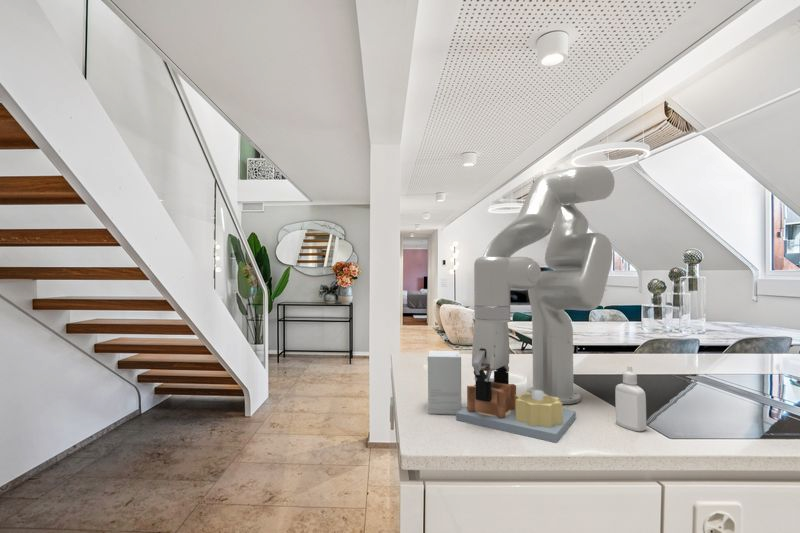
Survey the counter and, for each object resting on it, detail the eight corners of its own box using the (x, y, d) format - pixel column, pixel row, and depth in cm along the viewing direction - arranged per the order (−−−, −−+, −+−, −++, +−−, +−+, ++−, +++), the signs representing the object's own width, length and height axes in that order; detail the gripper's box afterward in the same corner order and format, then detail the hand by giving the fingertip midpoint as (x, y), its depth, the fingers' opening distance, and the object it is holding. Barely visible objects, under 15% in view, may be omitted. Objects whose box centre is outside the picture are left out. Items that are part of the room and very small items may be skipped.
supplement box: (460, 405, 93) (460, 350, 94) (461, 415, 86) (461, 356, 86) (428, 403, 94) (428, 349, 95) (427, 414, 87) (427, 355, 87)
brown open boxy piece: (517, 408, 86) (517, 384, 86) (503, 418, 79) (503, 393, 79) (481, 401, 91) (481, 379, 91) (465, 410, 84) (465, 386, 84)
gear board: (486, 401, 96) (486, 372, 96) (575, 418, 85) (575, 384, 85) (456, 420, 83) (456, 385, 83) (556, 442, 72) (556, 403, 72)
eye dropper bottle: (624, 431, 77) (623, 368, 78) (613, 421, 83) (612, 363, 83) (649, 432, 77) (647, 369, 77) (636, 422, 82) (635, 363, 83)
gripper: (491, 311, 95) (491, 383, 94) (457, 316, 81) (458, 401, 80) (522, 312, 91) (523, 388, 90) (493, 318, 77) (493, 408, 76)
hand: (492, 394), depth 85 cm, fingers open, 9 cm apart
